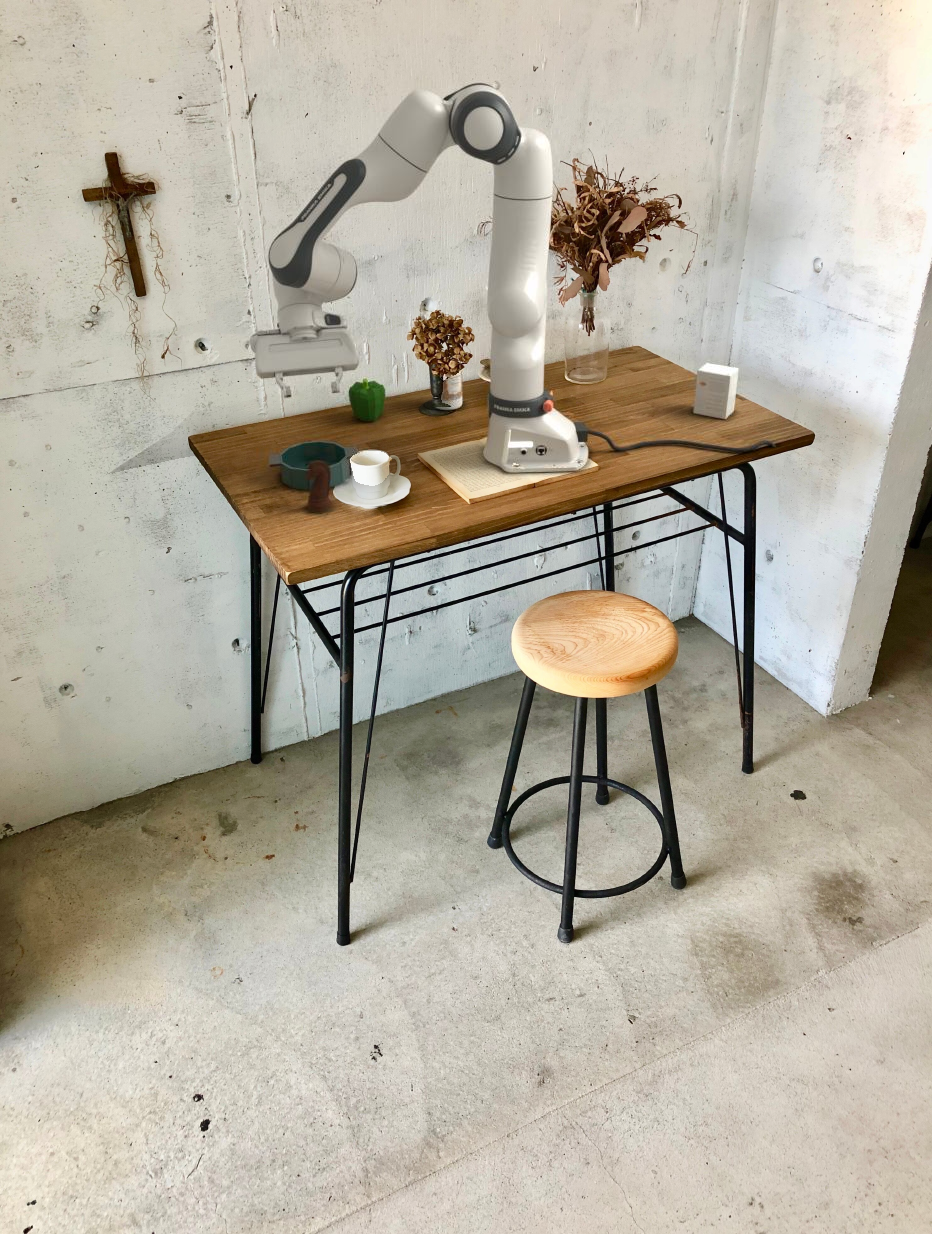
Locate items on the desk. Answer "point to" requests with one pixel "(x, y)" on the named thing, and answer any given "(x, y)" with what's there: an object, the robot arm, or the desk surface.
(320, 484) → the chess piece
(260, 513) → the desk surface
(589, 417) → the desk surface
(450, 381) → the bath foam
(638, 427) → the desk surface
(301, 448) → the cooking pot
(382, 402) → the bell pepper
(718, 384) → the small box
